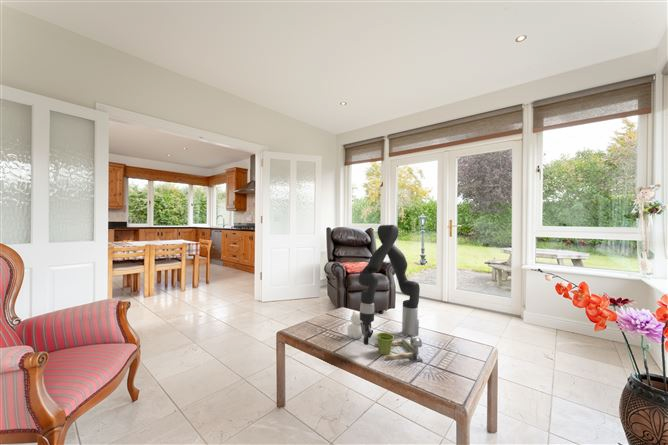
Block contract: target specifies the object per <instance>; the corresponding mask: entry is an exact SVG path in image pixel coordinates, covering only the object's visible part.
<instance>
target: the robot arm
mask: <svg viewBox="0 0 668 445" xmlns="http://www.w3.org/2000/svg"><path fill="white" fill-rule="evenodd" d="M376 231H377V236H378V239H379V241H380V243H381V245H380V246H379V247H378V248H376V249H375V250H374V252H372V255H371V257H370V259H369V260H368V263H367V264H366V266H365V267H364V268H363V269H362V270H361V271H360V272H359V275H358V277H357V278H358V279H357V280H358V284H359V285H361V286H363V287H367V288H368V289H366V290H362V291H361V293H360V306H359V313H360V320H361V321H362V323H360V324H361V330H362V334H363V335H362V336H363V344H364V345H365V346H368V345H369V342H370V339H369V338H372V336H373V334H374V330H373V329H372V323H373V322H374V321H375V294H376V290H377V288H378V285H379V277H378V276H377V274H375V273H378V272H379V271H380V270H381V268H382V265H383V263H384V261H385V259H386V257H388V259H389V262H390V264H391V267H392V269H393V272H394V274H395V277H396V279H397V283H398V287H399V289H400V292H401V293H402V294H403V295H405V296H409V299H405V300H403V301H402V312H401V314H402V319H401V323H402V325H401V333H402V335H404V336H407V335H413V337H416V336H419V335H420V334H419V330H420V329H419V328H420V327H419V325H420V320H419V318H418V316H419V315H418V314H419V313H418V311H419V310H418V309H419V308H418V307H419V304H420V303H419V302H420V301H419V300H420V284H419V282H417V281H412V280H408V278H407V276H406V271H407V269H408V262H407V258H406V257H405V254H404V253H403V252H402V251H401V249H399V248H398V247H397V246H396V245H395V243H396V241H397V239H398V238H399V233H400V232H399V231H400V230H399V228H398V226H397V225H395V224H382V225H379V226H378V227H377V230H376Z"/></svg>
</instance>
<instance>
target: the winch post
mask: <svg viewBox="0 0 668 445" xmlns="http://www.w3.org/2000/svg"><path fill="white" fill-rule="evenodd" d="M407 337H408V338H410V339H409V341H410V342H409V343H410V344H411V346H412V347H413V356H409V358H408V359H410V360H411V361H412V362H413V363H420V362H424V360H423V358H421V357H420V356H419V353H418V351H419V348H422V346H423V341H422V339H421V338H420V337H414V336H413V335H407Z"/></svg>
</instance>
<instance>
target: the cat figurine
mask: <svg viewBox="0 0 668 445" xmlns="http://www.w3.org/2000/svg"><path fill="white" fill-rule="evenodd" d="M350 321H351V323H349V324H348V326H347V335H348V337H349V338H350V339H354V340H359V339H360V338H361V337H362V336H363V334H362V330H361V324H360V323H362V321H361V320H360V312H358V311H356V310H353V312H352V315H351V316H350Z"/></svg>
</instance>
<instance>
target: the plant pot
mask: <svg viewBox="0 0 668 445" xmlns="http://www.w3.org/2000/svg"><path fill="white" fill-rule="evenodd" d="M375 335H376V340H377V343H378V347H377V348H378V353H379V354H380V355H384V356H386V355H391V351H392V347H393V346H392V342H394V341H393V340H394V338H395V336H394V335H393V334H392V333H391V334H390V333H388V332H378V333H377V334H375Z"/></svg>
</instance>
